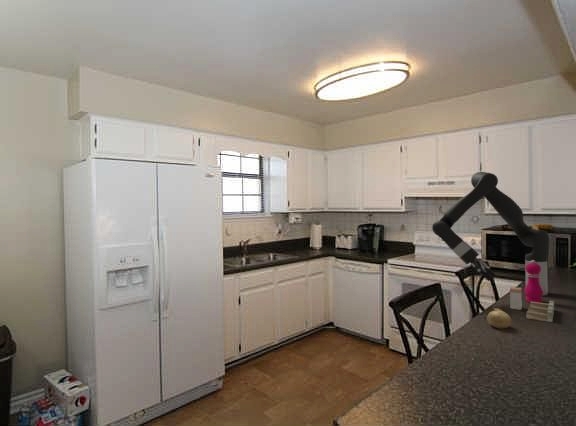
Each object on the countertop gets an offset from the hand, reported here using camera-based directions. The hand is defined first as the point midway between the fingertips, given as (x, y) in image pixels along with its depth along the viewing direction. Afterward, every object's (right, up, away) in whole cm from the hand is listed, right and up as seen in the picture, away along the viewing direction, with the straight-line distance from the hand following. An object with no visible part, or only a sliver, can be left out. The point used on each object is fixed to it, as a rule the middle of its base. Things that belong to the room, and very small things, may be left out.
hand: (492, 278), depth 161 cm
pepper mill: (+22, -12, +3) cm, 25 cm away
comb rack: (+11, -13, -14) cm, 22 cm away
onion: (-14, -14, -27) cm, 34 cm away
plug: (+7, -13, -6) cm, 16 cm away
